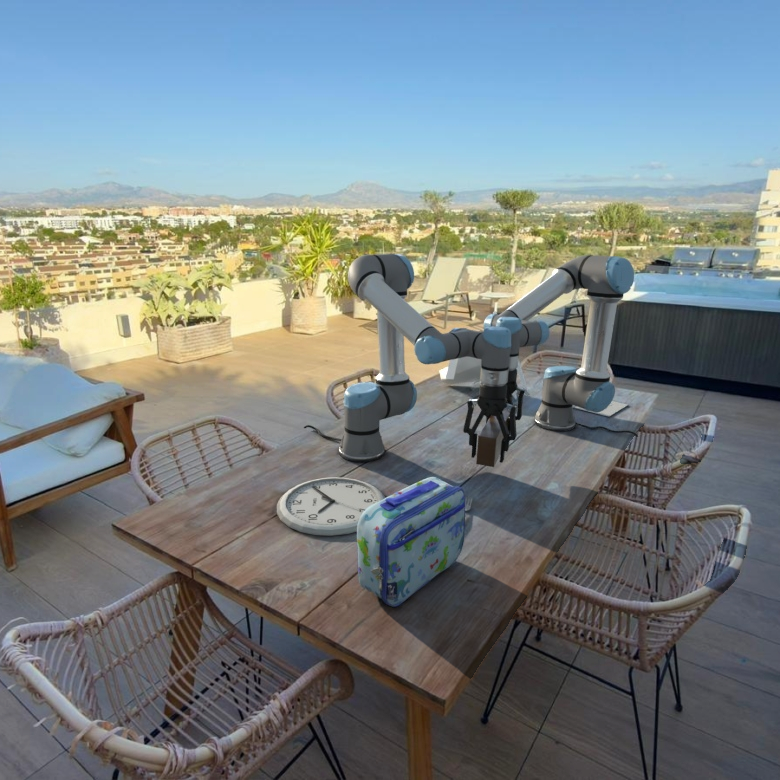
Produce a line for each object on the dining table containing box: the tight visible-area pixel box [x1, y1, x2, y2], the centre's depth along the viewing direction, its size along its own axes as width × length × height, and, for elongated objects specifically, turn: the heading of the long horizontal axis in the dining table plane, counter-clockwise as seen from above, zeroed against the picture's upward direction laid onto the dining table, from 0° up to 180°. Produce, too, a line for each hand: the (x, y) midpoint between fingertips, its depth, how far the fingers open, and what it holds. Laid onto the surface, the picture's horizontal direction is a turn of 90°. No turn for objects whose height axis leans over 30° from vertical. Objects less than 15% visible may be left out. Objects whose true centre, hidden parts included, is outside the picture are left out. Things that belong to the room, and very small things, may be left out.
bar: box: [475, 409, 510, 468], centre depth 159 cm, size 25×5×9 cm, turn 158°
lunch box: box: [356, 476, 466, 608], centre depth 110 cm, size 26×11×21 cm, turn 134°
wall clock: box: [276, 476, 386, 537], centre depth 142 cm, size 30×2×30 cm
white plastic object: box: [438, 310, 531, 400], centre depth 245 cm, size 37×45×31 cm
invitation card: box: [573, 400, 629, 418], centre depth 226 cm, size 21×1×15 cm
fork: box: [465, 496, 473, 512], centre depth 138 cm, size 3×16×2 cm, turn 160°
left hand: (487, 458), depth 152 cm, fingers open, 8 cm apart
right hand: (499, 437), depth 169 cm, fingers closed on bar, 5 cm apart
